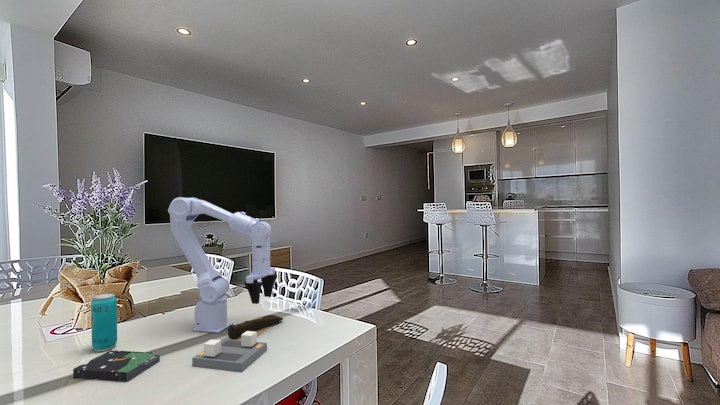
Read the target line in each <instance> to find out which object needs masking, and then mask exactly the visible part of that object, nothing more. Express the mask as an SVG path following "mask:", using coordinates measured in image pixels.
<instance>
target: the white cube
mask: <svg viewBox="0 0 720 405" xmlns="http://www.w3.org/2000/svg"><path fill="white" fill-rule="evenodd" d="M203 351H204V356H211V357H215V356H216V355H218V354H219V353H220V352H221V339H209V340H207V341H206V342H204V343H203Z"/></svg>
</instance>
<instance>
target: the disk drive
mask: <svg viewBox="0 0 720 405" xmlns="http://www.w3.org/2000/svg"><path fill="white" fill-rule="evenodd" d="M160 362H161V356H160V355H159V353H156V352H149V351H148V352H147V351H146V352H145V351H128V350H116V349H115V350H112V349H110V350H108V351H105V352H104V353H103V354H101V355H99V356H96V357H94V358H92V359H91V360H89V361H88V362H87V363H85V364H84V363H82V364H80V365H78V366H76V367H74V368H73V370H72V373H73V379H79V378H85V379H84V380H94V379H98V380H97V381H108V380H109V381H111V382H123V383H128V382H130V381H131V380H134V379H135V378H137V377H138V376H139V375H141V374H143V373H144V372H146V371H147V370H148V369H150V368H152V367H153V366H155V365H156V364H159V363H160ZM109 381H108V382H109Z"/></svg>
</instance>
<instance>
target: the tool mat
mask: <svg viewBox="0 0 720 405" xmlns="http://www.w3.org/2000/svg"><path fill="white" fill-rule="evenodd" d="M262 317H263V316H259V315H258V316H257V317H256V318H254V319H253V320H256V319H260V318H262ZM271 327H272V326H267V327H264V328H261V329H259V330H255V331H254V332H257V338H258V337H259V336H261V335H262V334H263V333H265V332H266V331H267V330H269V329H270V328H271ZM224 339H231V338H230V337H229V336H228V335H227V337H225V338H224ZM232 340H233V339H232ZM234 340H241V335H240V336H237V337H236V338H235V339H234Z"/></svg>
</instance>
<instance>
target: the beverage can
mask: <svg viewBox="0 0 720 405" xmlns="http://www.w3.org/2000/svg"><path fill="white" fill-rule="evenodd" d="M91 298H92V300H91V303H90V308H91V309H90V315H91V317H90V320H91V347H92V348H93V350H94V352H95V353H101V351H103V352H108V351H110V350H112V349H114V348H115V347H116V344H117V342H118V307H117V306H118V304H117V302H118V301H117V297H116V294H115V293H112V292H111V293H102V294H97V295H94V296H92V297H91ZM107 350H108V351H107Z"/></svg>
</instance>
